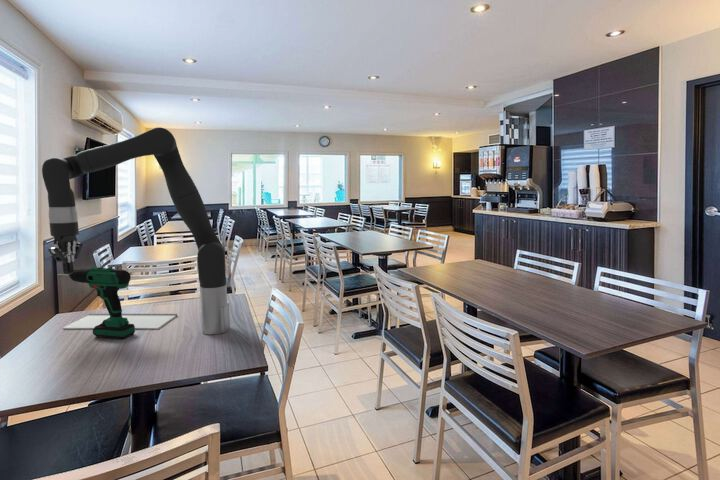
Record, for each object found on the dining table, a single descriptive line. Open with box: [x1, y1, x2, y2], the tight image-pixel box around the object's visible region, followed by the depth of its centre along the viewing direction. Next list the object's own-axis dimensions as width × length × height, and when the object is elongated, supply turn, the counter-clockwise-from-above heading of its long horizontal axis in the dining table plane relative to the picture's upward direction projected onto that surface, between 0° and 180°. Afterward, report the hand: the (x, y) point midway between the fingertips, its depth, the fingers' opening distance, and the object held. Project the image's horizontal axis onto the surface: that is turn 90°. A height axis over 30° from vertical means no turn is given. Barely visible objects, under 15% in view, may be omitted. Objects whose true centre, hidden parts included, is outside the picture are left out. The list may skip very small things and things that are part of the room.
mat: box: [62, 313, 178, 330], centre depth 163 cm, size 36×16×1 cm, turn 89°
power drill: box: [57, 266, 136, 340], centre depth 148 cm, size 6×29×25 cm, turn 78°
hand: (68, 273), depth 136 cm, fingers closed
